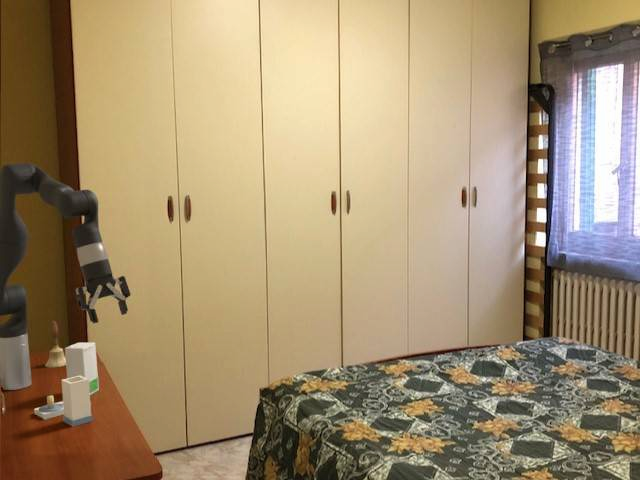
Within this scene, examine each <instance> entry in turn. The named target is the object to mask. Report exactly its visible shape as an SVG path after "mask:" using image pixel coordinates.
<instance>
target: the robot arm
mask: <svg viewBox="0 0 640 480" xmlns="http://www.w3.org/2000/svg"><path fill="white" fill-rule="evenodd" d="M34 193H35V194H36V193H37V194H38V195H39V197H40V198H41V200H42V201H43V202H44V203H46V204H47V205H49V206H52V207H54V208H55V210H57V211H58V213H59V215H60V216H61V217H63V218H67V219H71V218H72V219H74V218H78V217H83V218H84V219H83V223H81V224H79V225H77V226H75V227H74V228H72V231H71V232H72V233H71V234H72V238H73V241H74V245H75V248H76V254H77V259H78V262H79V266H80V269H81V272H82V273H81V274H82V276H83V277H82V278H83V280H84V282H85V285H84V286H79V287H76V288H75V290H74V292H75V297H76V300H77V306H78V310H80V311H86V312H87V315H88V318H89V321H90V322H91V323H93V324H98V323H99V318H98V315H97V311H96V309H95V308H94V307H95V305H96V303H97V301H98V299H103V298H106V297H107V298H108V297H110V296H111V297H113V298H114V299H115V300H117V301H118V302H117V304H118V307H119V312H120V314H121V316H123V315H127V314H128V312H129V309H128V306H127V301H126V300H127V299H128V298H130V296H131V292H130V289H129V286H128V283H127V280H126V276H124V275H121V276H119V277H117V278H114V276H113V271H112V267H111V264H110V261H109V256H108V252H107V250H106V247H105V245H104V243H103V239H102V236H101V232H100V229H99V227H100V225H99V200H98V197H97V196H96V193H94V191H92V190H90V189H81V190H74V189H73V188H72V187H71V186H69V185H67V184H65V183H63V182H61V181H58V180H56V179H54V178H53V177H52V176H50V175H49V174H48V173H46V172H45V171H44V170H42V168H41V167H39V166H38V165H36V164H34V163H29V162H27V163H7V164H4V165H2V167H1V169H0V317H2V316H3V317H4V316H7V315H10V317H9V318H8V319H7V320H6V321H5V322H3V323H1V324H0V378H1V386H2V387H3V389H2V390H5V391H14V390H20V389H21V390H22V389H25V388H27V387H30V386H31V385H32V373H31V371H32V370H31V361H30V349H29V348H30V347H29V336H28V326H29V321H28V319H29V317H28V297H27V292H26V290H25V288H24V286H23V285H22V284H18V283H16V284H11V285H9V284H8V282H9V279H10V277H11V276H12V274H13V273H14V271H16V270H17V267H18V266H19V265H20V264H21V263H22V261H23V260H24V258H25V257H26V255H27V251H28V245H29V237H30V235H29V230H28V227H27V225H26V224H25V222H24V221H23V219H22V218H21V216H20V215H19V212H18V210H17V208H16V207H17V206H16V196H17V195H18V196H19V195H29V194H34ZM116 285H117V286H118V287H119V289H120V290H119V289H117V288H116V287H115V286H116ZM86 293H89V297H88V299H87V301H86V297H85V296H86Z"/></svg>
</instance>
